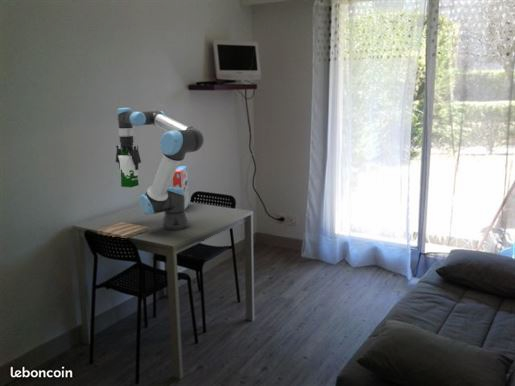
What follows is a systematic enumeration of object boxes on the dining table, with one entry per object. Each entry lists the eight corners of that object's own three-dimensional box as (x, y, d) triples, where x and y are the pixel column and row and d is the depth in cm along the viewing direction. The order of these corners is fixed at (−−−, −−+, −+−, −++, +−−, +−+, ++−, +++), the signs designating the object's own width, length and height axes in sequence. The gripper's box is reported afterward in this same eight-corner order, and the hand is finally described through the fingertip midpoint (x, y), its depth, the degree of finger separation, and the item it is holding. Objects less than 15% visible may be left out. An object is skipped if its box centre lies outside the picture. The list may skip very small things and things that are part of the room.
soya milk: (128, 184, 265) (126, 150, 261) (141, 185, 261) (138, 150, 257) (118, 186, 257) (115, 152, 253) (131, 187, 253) (128, 152, 249)
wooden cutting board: (147, 230, 251) (147, 227, 250) (122, 239, 236) (122, 235, 235) (122, 225, 261) (122, 222, 261) (97, 233, 246) (97, 230, 246)
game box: (181, 205, 308) (179, 166, 302) (189, 205, 308) (187, 166, 302) (174, 212, 288) (172, 171, 282) (182, 212, 288) (180, 171, 282)
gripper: (146, 135, 252) (148, 175, 257) (115, 134, 261) (119, 172, 265) (137, 136, 245) (140, 177, 250) (106, 135, 254) (110, 174, 259)
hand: (129, 174), depth 258 cm, fingers closed on soya milk, 9 cm apart
